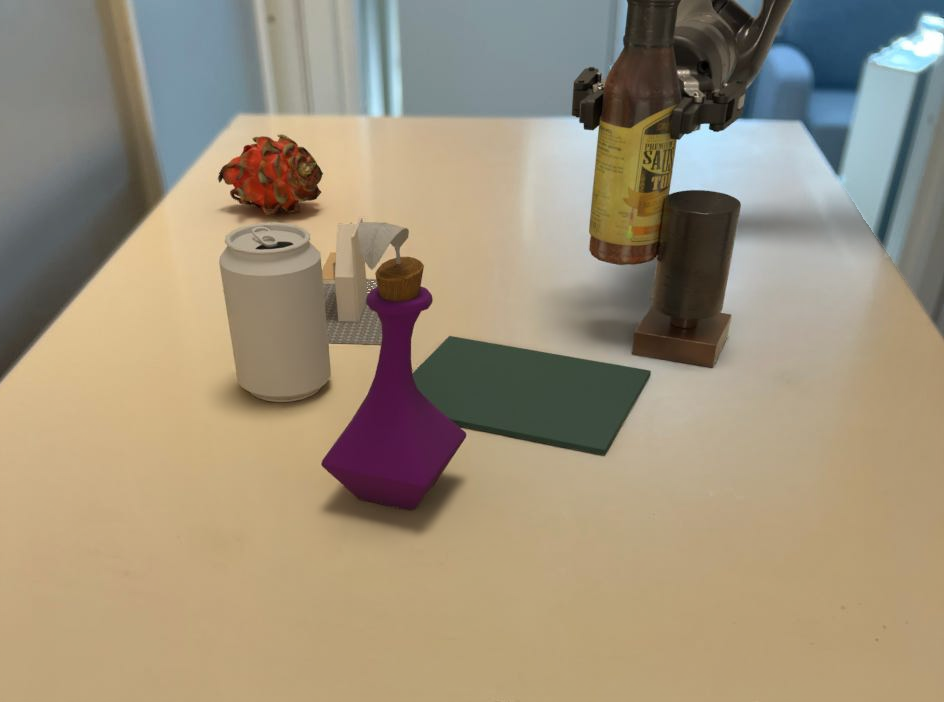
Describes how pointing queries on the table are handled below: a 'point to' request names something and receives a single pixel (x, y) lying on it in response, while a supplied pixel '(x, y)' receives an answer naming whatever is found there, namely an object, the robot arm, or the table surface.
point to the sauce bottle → (636, 138)
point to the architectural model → (349, 292)
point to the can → (276, 311)
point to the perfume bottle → (394, 392)
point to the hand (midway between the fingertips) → (632, 120)
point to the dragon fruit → (273, 175)
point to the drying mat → (530, 393)
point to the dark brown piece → (690, 279)
